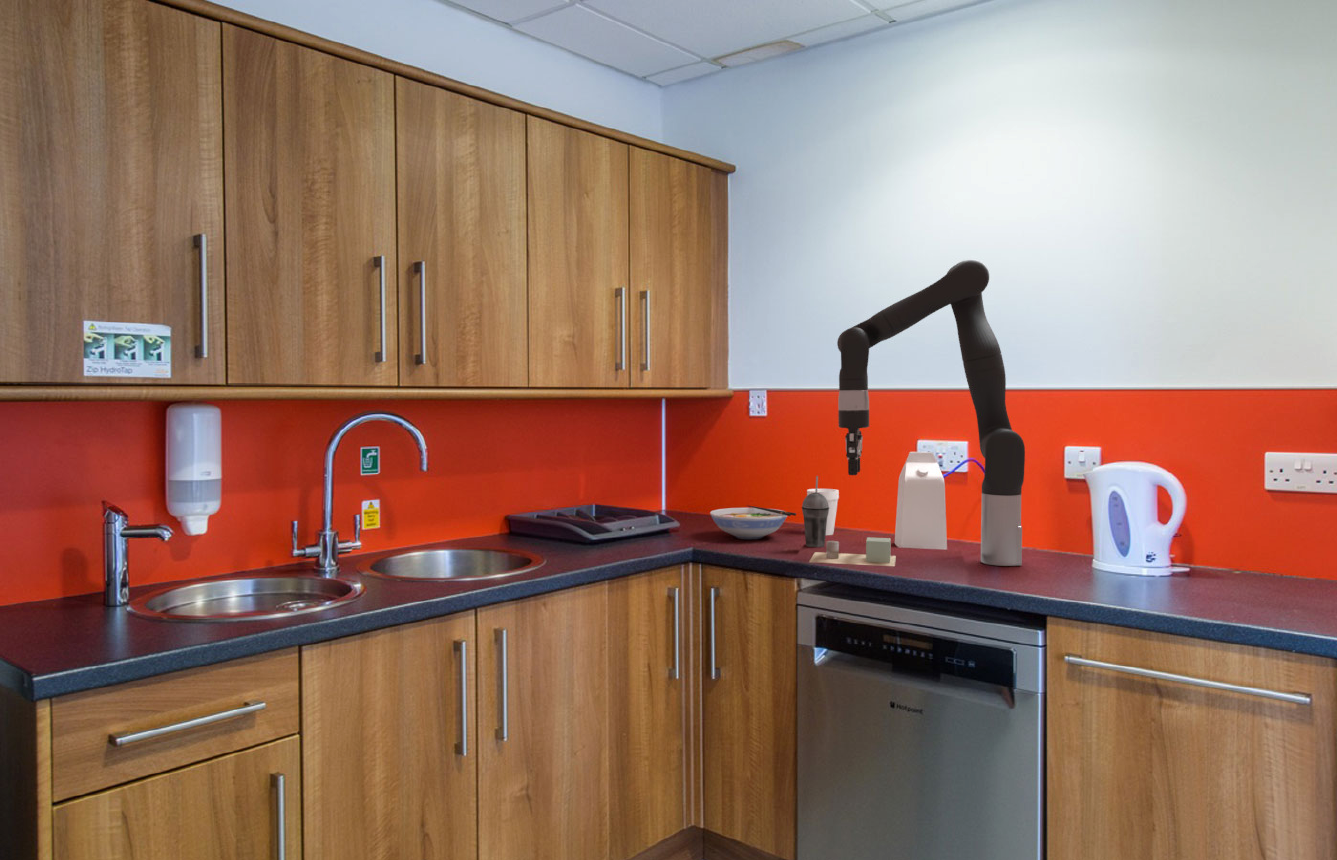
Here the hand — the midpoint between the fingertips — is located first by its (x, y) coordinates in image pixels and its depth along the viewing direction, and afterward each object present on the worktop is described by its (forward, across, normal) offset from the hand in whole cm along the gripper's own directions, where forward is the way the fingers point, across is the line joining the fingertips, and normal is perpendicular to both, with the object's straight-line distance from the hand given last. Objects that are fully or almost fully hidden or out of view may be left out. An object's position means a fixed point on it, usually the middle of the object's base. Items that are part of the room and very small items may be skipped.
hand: (854, 473), depth 226 cm
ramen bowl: (+22, +29, +33) cm, 49 cm away
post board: (+22, -5, 0) cm, 23 cm away
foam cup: (+22, +42, +13) cm, 49 cm away
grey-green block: (+20, -5, -6) cm, 22 cm away
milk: (+23, +26, -15) cm, 38 cm away
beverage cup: (+22, +11, +11) cm, 27 cm away
